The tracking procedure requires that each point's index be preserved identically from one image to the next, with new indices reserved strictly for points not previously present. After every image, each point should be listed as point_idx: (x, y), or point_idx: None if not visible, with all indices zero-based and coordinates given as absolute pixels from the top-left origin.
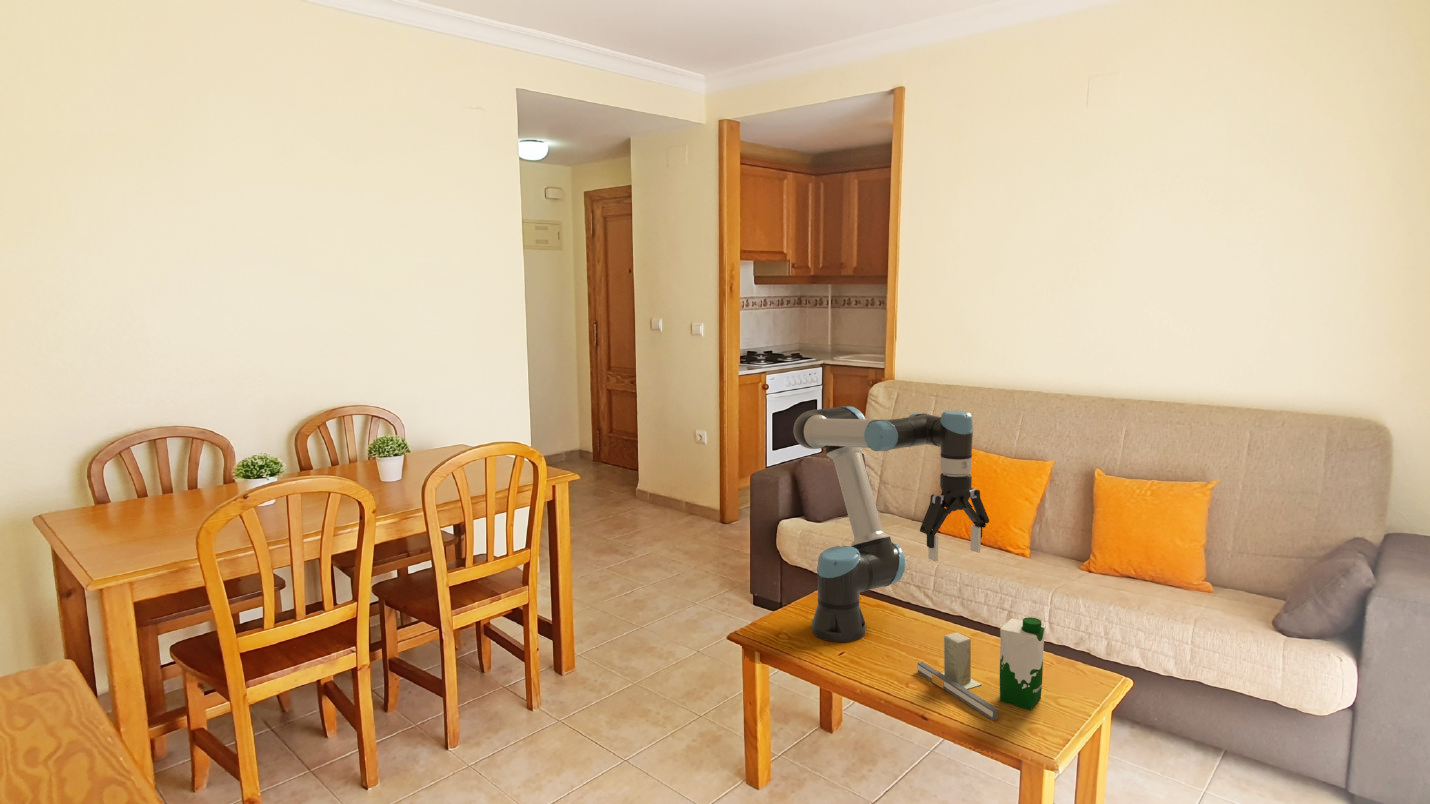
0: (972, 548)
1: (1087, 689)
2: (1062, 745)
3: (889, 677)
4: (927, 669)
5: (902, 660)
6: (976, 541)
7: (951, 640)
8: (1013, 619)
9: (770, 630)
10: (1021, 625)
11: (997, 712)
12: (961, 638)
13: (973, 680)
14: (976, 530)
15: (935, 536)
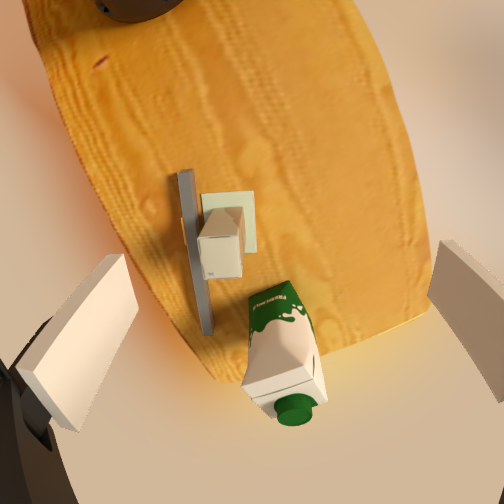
0: (442, 262)
1: (379, 315)
2: None
3: (128, 168)
4: (181, 201)
5: (183, 117)
6: (459, 323)
7: (200, 261)
8: (301, 370)
9: None
10: (288, 393)
11: (213, 331)
12: (223, 268)
13: (254, 236)
14: (497, 372)
15: (60, 421)
